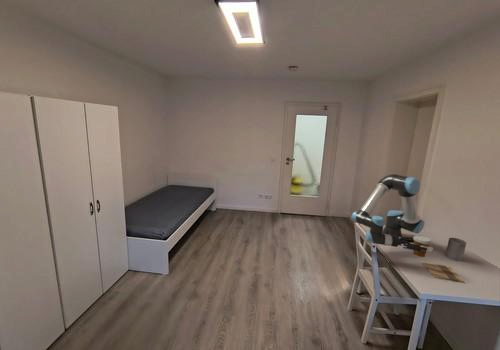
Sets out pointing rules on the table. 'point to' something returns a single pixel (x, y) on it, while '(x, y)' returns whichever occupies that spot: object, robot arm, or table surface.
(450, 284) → the table surface
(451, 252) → the pillar candle
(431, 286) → the table surface
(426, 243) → the disposable coffee cup
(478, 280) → the table surface
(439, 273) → the subfloor panel
